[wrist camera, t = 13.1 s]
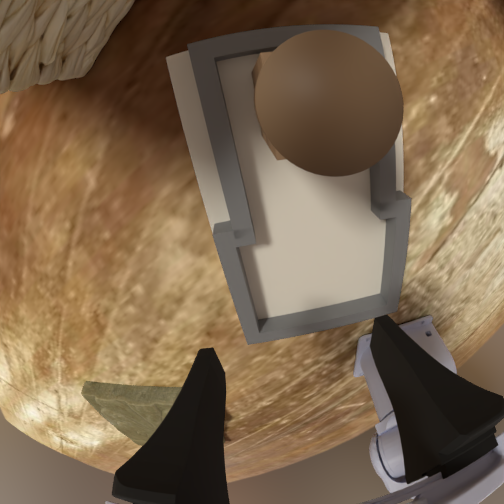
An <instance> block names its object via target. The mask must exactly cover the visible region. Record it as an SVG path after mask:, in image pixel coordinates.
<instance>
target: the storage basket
mask: <svg viewBox="0 0 504 504" xmlns="http://www.w3.org/2000/svg"><path fill="white" fill-rule="evenodd" d="M134 1H135V0H0V94H2V93H5V92H7V91H8V90H9V91H14V92H17V91H23V90H25V89H27V88H28V87H30V86H32V85H35V84H39V85H45V84H49V83H51V82H52V81H54V80H57V79H58V80H68V79H73V78H81V77H83V76H85V75H86V73H87V72H88V71H89V70H90V69H91V67H92V66H93V63H94V61H95V60H96V58H97V56H98V54H99V53H100V51H101V49H102V48H103V47H104V46H105V44H106V43H107V41H108V40H109V37H110V35H111V33H112V32H113V30H114V29H115V27H116V26H117V24H118V23H119V22H120V21H121V20H122V18H123V17H124V16H125V15H126V14H127V13H128V11H129V10H130V8H131V6H132V5H133V3H134Z"/></svg>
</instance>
